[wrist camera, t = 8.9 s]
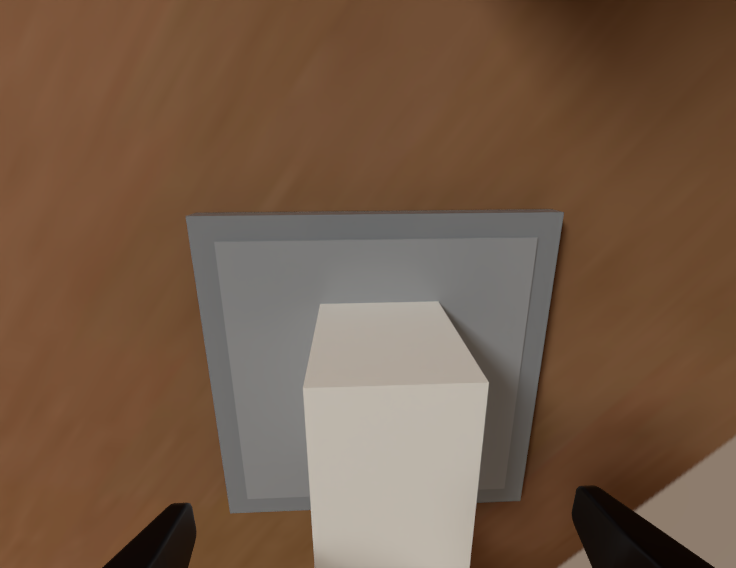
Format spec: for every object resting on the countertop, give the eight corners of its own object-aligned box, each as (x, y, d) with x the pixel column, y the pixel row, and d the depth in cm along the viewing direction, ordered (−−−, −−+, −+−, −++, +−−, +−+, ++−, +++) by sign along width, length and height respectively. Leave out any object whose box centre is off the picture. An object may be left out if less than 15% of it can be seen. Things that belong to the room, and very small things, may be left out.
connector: (437, 301, 13) (489, 382, 8) (427, 494, 16) (462, 640, 11) (320, 303, 13) (302, 388, 8) (329, 498, 15) (320, 649, 11)
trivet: (551, 209, 13) (565, 212, 12) (512, 485, 17) (521, 502, 16) (195, 212, 13) (184, 216, 12) (235, 496, 16) (229, 515, 16)
